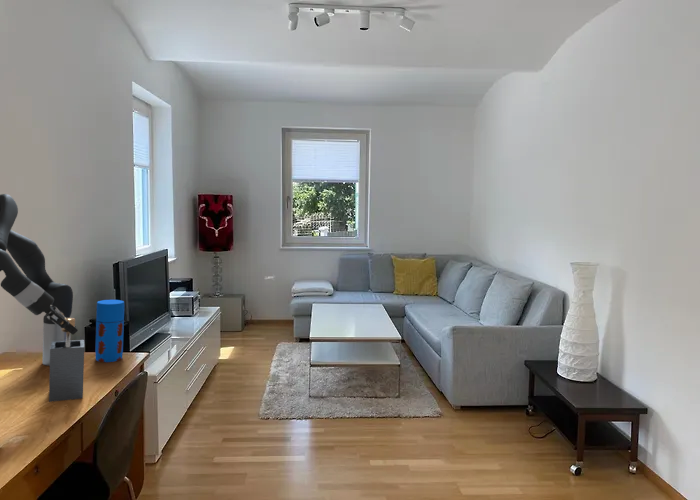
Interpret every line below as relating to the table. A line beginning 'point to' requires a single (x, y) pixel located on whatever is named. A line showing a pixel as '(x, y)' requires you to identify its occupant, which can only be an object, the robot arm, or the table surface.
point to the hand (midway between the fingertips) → (74, 330)
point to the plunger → (72, 322)
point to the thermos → (109, 330)
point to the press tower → (66, 370)
